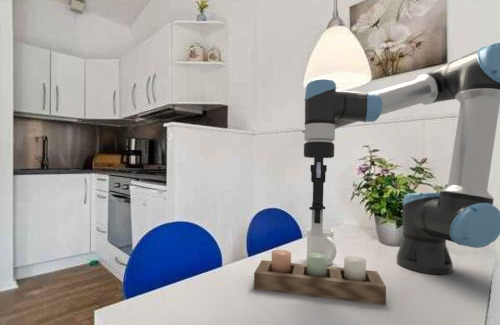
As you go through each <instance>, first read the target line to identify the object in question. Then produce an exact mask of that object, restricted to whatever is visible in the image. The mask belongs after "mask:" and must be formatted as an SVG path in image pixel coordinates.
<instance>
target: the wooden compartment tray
mask: <svg viewBox="0 0 500 325" xmlns="http://www.w3.org/2000/svg"><path fill="white" fill-rule="evenodd" d="M271 262H272V260H264V259H263V260H261V261H260V263H259V264H258V265H257V267H256V269H255V271H254V272H253V276H254V277H253V289H254V290H259V291H265V292H267V291H268V292H275V293H276V292H277V293H284V294H291V295H293V294H294V295H299V296H302V295H303V296H311V297H318V298H326V299H332V300H333V299H334V300H343V301H349V302H360V303H367V304H376V305H383V306H384V305H385V306H386V305H387V286H386V284H385V282H384V280H382V278H381V276H380V274H379V273H378V270H367V269H366V280H365V281H355V280H348V279H346V278H345V277H344V267H337V266H336V267H335V266H327V276H325V277H317V276H310V275H308V274H307V263H305V264H304V263H297V262H296V263H294V262H291V271H290V272H289V273H279V272H273V271H272V270H271Z"/></svg>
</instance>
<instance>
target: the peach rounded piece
mask: <svg viewBox="0 0 500 325" xmlns="http://www.w3.org/2000/svg"><path fill="white" fill-rule="evenodd" d="M271 261H272V262H271V270H272V271H273V272H279V273H289V272H290V271H291V263H292V252H290V251H289V250H285V249H275V250H271Z"/></svg>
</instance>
